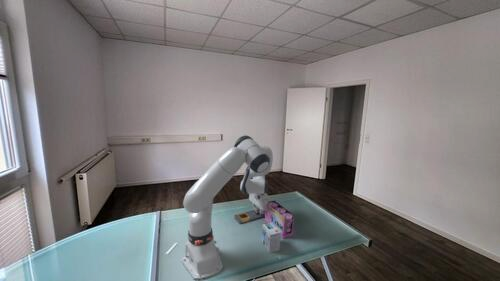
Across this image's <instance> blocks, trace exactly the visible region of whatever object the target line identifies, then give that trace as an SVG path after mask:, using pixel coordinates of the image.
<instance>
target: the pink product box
mask: <svg viewBox="0 0 500 281" xmlns="http://www.w3.org/2000/svg"><path fill="white" fill-rule="evenodd" d="M264 212H265V217H264V221H266V222H267V224H268V223H273V224H274V225H275V226H276V227H277V229H278V230H279V231H280V232H281V238H282V239H286V238H290V237H293V236H294V228H295V227H294V225H295V224H294V223H295V214H293V213H292V212H291V211H290V210H288V209H287V208H286V207H284V206H282V205H281V204H280V203H279V202H277V201H276V200H271V201H270V200H268V204H267V210H265V211H264Z"/></svg>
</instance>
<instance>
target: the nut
mask: <svg viewBox="0 0 500 281" xmlns="http://www.w3.org/2000/svg"><path fill="white" fill-rule="evenodd" d="M253 210H254V213H255V214H256V215H257V214H260V213H259V211H260V208H259V207H258V206H256V207H254V208H253Z"/></svg>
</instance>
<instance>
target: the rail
mask: <svg viewBox="0 0 500 281" xmlns="http://www.w3.org/2000/svg"><path fill="white" fill-rule="evenodd" d="M262 218H265V211H262V214H257V215H256V214H255V213H254V209H253V210H249V211H245V212H242V213H237V214H234V215H233V219H234V220H235V221H236V223H238V225H241V224H244V223H247V222H251V221H255V220H258V219H262Z"/></svg>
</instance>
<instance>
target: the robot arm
mask: <svg viewBox="0 0 500 281" xmlns="http://www.w3.org/2000/svg"><path fill="white" fill-rule="evenodd" d="M273 157H274V156H273V150H272V149H271V147H269V146H267V145H261V146H260V145H259V143H257V141H255V140H254V138H252V137H251V136H250V135H242V136H240V137H239V138H237V140H236V141H235V143H234V145H233V147H231V148H229V149H227V151H225V152H224V153H222V155H220V156H219V158H217V160H215V162H213V164H212V165H211V166H210V167H209V168H208V169H207V170H206V171H205V172H204V173H203V174H202V176H201V177H200V178H198V180H197V181H196V182H195V183H194V184H193V185H192V186H191V187H190V188H189V189H188V191H187V192H186V193H185V195H184V198H183V201H182V202H183V203H182V204H183V207H184V210H185V211H186V212H188V213H189V215H188V231H187V232H188V233H187V239H188V240H187V241H186V242H185V246H184V256H183V257H182V258H181V263H182V264H183V266H184V268H185V269H186V270H187V272H188V274H191V275H190V276H191V278H192V279H193V278H194V279H200V280H204V279H203V278H205V279H207V278H210V277H213V276H215V275H217V274H218V273H219V272H221V271H222V270H223V263H222V259H221V256H220V247H219V246H216V244H217V241H216V240H215V238H214V237H215V236H214V234H213V228H212V212H213V204H214V198H215V196H217V194H218V193H220V191H221V190H222V189H223V187H224V186H225V185H226V184H227V183H228V182H229V181H230V180H231V179H233V177H234V176H235V175H236V174H237V172H239V170H241V167H242V166H243V165H244V164H246V165H247V167H246V169H245V171H244V174H243V176H242V180H241V181H240V185H239V187H240V188H239V190H240V193H242V194H244V195H249V196H248V199H249V201H250V202H251V203H252V209H254V207H256V206H258V207H259V208H260V211H259V213H260V214H262V211H264V212H265V210H267V204H268V202H269V194H267V192H268V190H269V189H268V188H269V187H268V186H269V182H268V181H267V180H266V177H265V176H266V175H268V174H269V173H270V171H271V170H272V168H273V161H274V158H273ZM194 279H193V280H194Z"/></svg>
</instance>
